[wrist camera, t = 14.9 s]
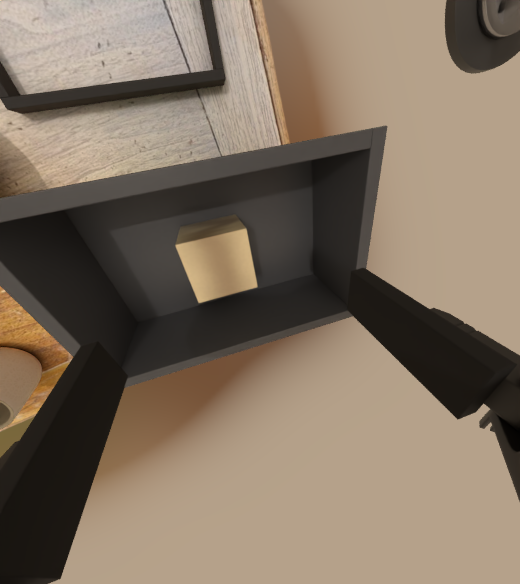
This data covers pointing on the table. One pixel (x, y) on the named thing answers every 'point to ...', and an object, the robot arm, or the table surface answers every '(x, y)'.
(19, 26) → the table surface
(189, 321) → the bin
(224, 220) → the toy block
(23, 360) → the planter
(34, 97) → the rim tray
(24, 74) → the table surface
